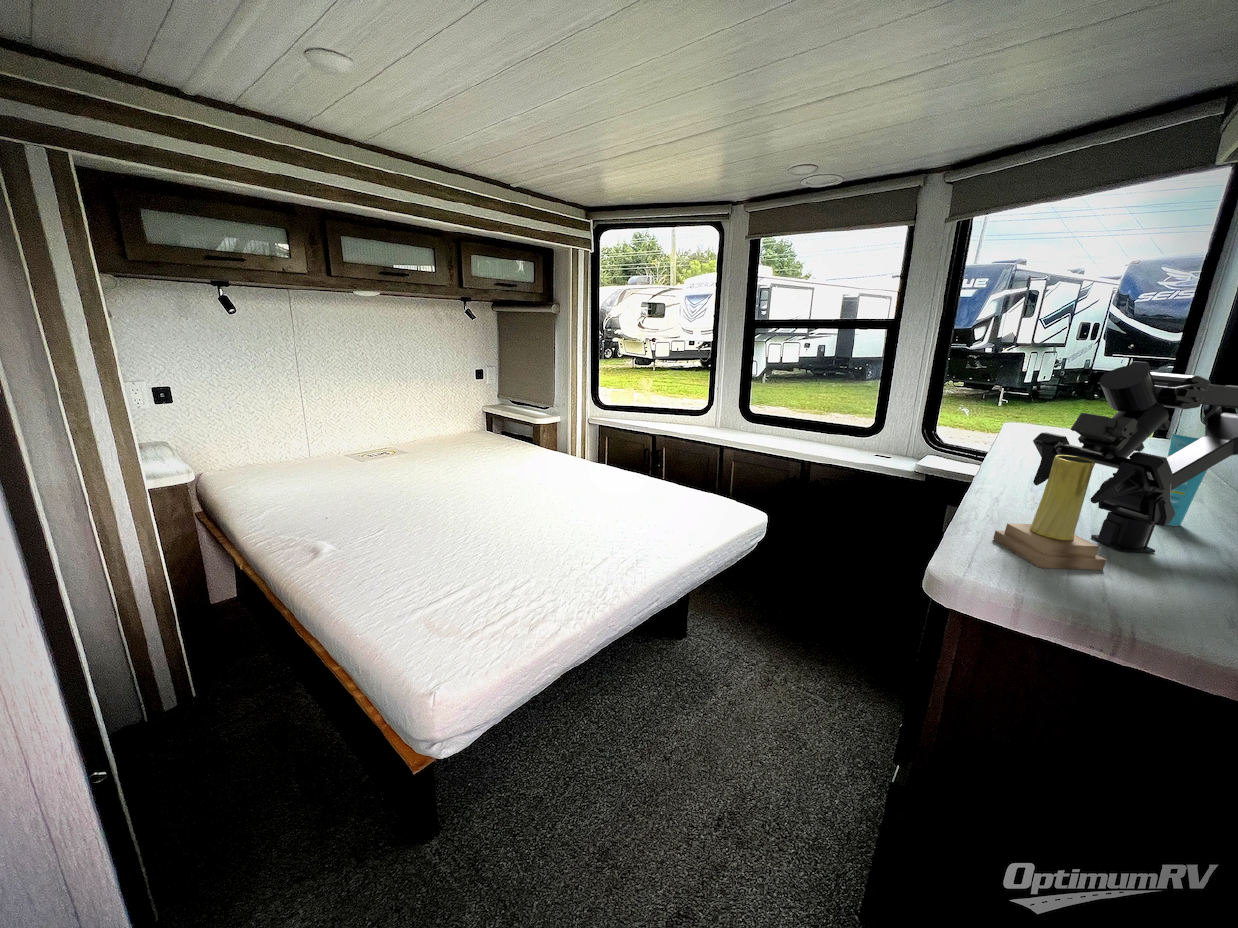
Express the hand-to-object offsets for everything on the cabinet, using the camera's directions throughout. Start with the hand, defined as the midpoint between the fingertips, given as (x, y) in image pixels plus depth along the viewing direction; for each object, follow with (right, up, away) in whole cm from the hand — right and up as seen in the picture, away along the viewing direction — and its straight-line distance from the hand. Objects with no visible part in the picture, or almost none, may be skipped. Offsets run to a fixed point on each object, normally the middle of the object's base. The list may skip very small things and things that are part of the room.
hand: (1062, 492), depth 85 cm
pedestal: (0, -12, +4) cm, 12 cm away
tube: (+41, -8, +21) cm, 47 cm away
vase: (0, -8, +3) cm, 8 cm away
